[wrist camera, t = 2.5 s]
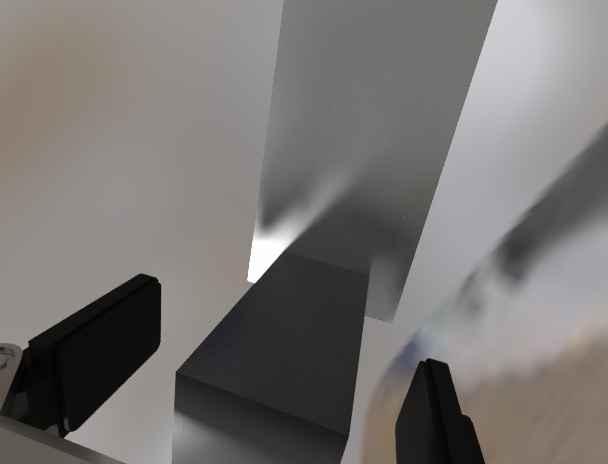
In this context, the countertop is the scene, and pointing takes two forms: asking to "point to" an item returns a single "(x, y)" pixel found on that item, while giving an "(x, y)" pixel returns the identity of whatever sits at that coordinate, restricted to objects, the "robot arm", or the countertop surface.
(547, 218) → the countertop surface
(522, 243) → the countertop surface
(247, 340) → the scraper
